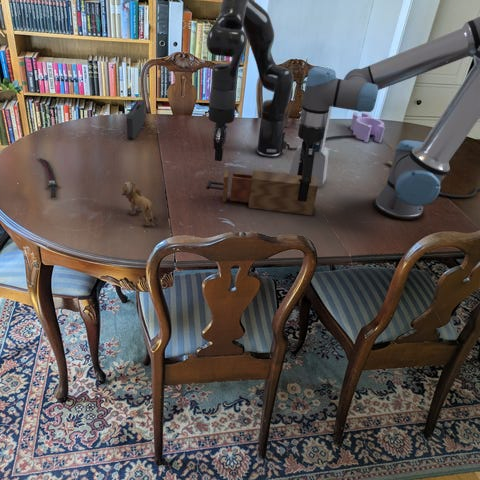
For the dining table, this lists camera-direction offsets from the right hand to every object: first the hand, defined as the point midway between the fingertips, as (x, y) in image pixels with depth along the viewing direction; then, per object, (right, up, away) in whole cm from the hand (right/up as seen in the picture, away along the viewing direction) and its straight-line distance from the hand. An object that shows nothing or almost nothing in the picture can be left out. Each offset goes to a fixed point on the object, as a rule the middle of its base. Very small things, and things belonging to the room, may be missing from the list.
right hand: (301, 190), depth 146 cm
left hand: (-26, +9, -3) cm, 27 cm away
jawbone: (+47, +11, +37) cm, 61 cm away
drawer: (-18, -3, +3) cm, 18 cm away
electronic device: (+5, +6, +22) cm, 23 cm away
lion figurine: (-48, -9, -9) cm, 50 cm away
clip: (+38, +33, +70) cm, 87 cm away
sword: (-82, +5, +6) cm, 82 cm away
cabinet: (-6, -5, +4) cm, 9 cm away
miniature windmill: (+6, +38, +71) cm, 81 cm away
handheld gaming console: (-62, +30, +48) cm, 84 cm away
